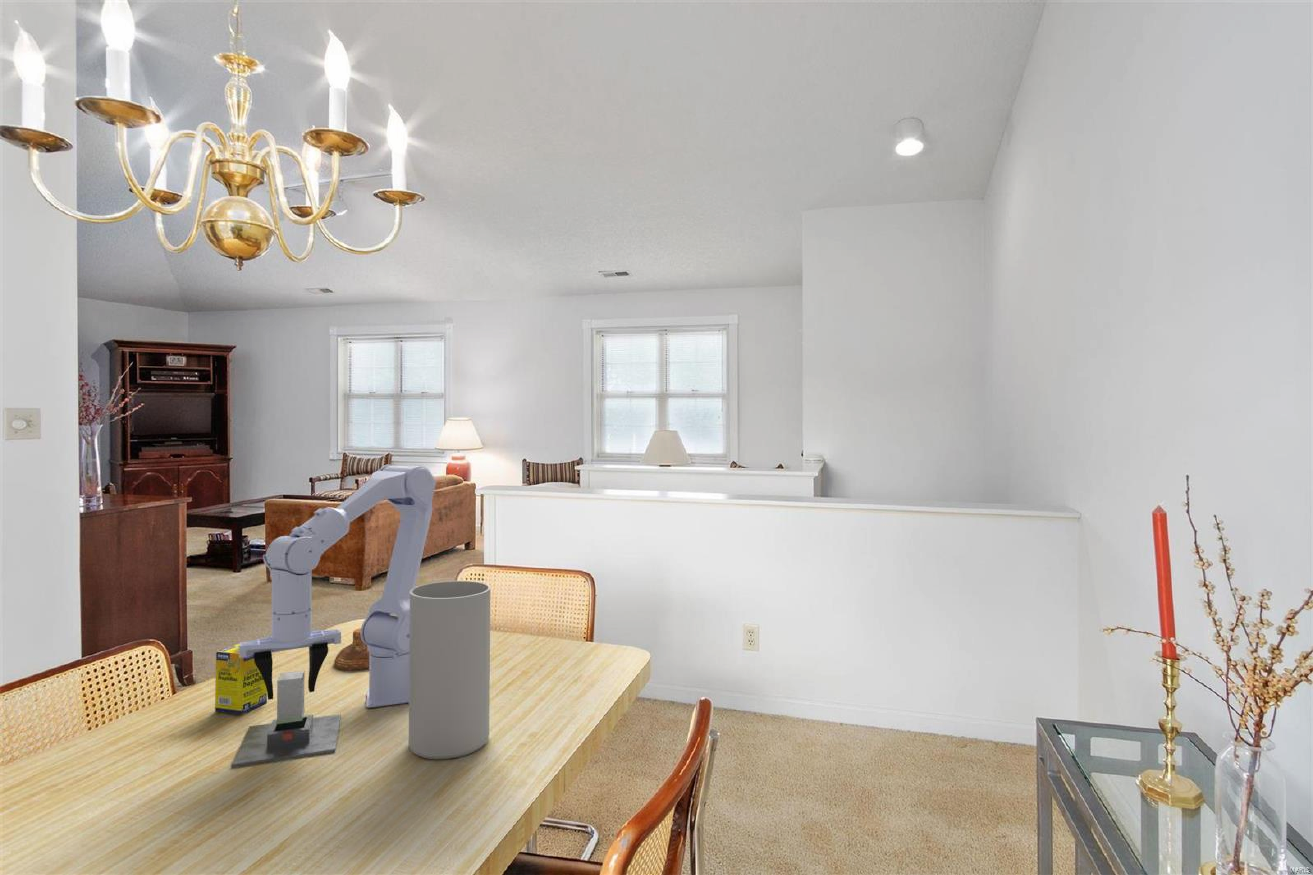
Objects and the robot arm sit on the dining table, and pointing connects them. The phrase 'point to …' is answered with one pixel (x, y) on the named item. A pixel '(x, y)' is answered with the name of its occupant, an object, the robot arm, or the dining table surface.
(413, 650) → the cylinder vase
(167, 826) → the dining table surface
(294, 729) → the stand base
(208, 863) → the dining table surface
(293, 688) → the column
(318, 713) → the dining table surface
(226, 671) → the supplement box
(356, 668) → the bell
